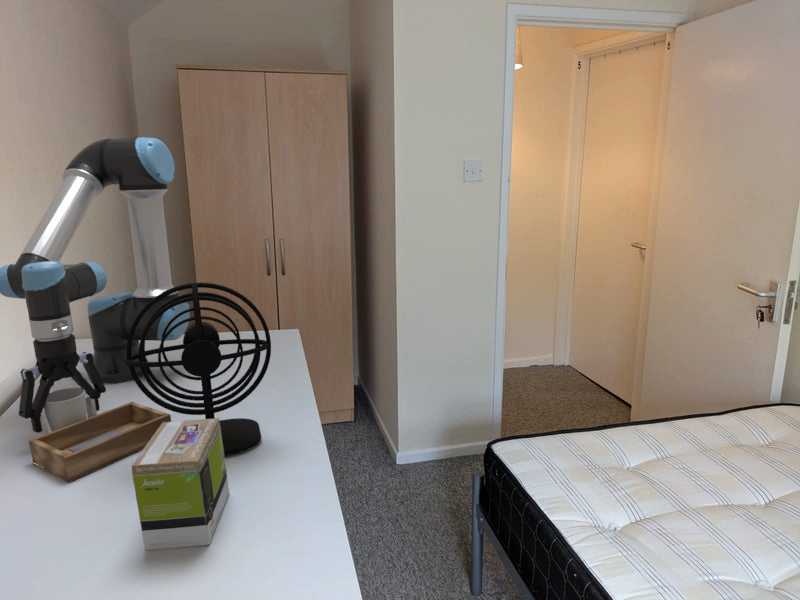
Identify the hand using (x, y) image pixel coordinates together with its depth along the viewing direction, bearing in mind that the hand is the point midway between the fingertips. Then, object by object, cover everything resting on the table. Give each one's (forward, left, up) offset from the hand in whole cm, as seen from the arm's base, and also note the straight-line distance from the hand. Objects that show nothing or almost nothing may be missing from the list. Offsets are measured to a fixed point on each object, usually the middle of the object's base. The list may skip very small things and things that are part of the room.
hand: (70, 434), depth 125 cm
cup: (0, 0, -1) cm, 1 cm away
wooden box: (+12, +1, -1) cm, 12 cm away
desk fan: (+30, +13, -1) cm, 33 cm away
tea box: (+48, -6, -1) cm, 49 cm away
